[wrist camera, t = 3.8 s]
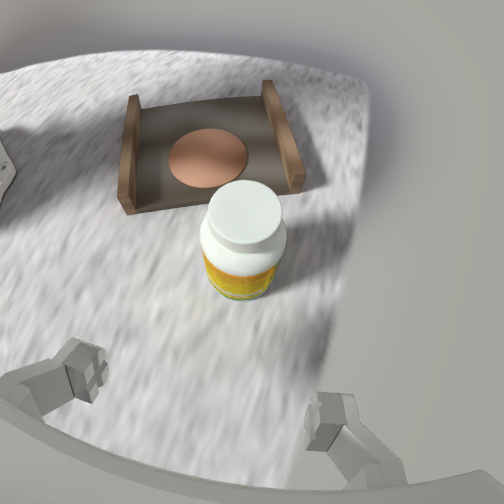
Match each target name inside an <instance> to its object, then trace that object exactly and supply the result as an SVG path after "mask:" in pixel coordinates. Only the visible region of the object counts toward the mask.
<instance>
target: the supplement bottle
mask: <svg viewBox="0 0 504 504" xmlns="http://www.w3.org/2000/svg"><path fill="white" fill-rule="evenodd" d="M282 215H283V210H282V205H281V202H280V200H279V198H278V197H277V195H276V194H275V193H274V192H273V191H272V190H271V189H270V188H269V187H267V186H266V185H264V184H261V183H259V182H256V181H250V180H239V181H234V182H230V183H228V184H226V185H224V186H222V187H221V188H220V189H218V190H217V191H216V192H215V194H214V195H213V196H212V198H211V200H210V203H209V206H208V212H207V213H206V215H205V217H204V219H203V221H202V224H201V228H200V243H201V248H202V252H203V257H204V261H205V266H206V271H207V275H208V279H209V281H210V283H211V285H212V286H213V288H214V289H215V290H216V291H217V292H218V293H219V294H220V295H222V296H223V297H225V298H227V299H229V300H233V301H239V302H243V301H250V300H253V299H255V298H257V297H259V296H260V295H262V294H263V293H264V292H265V291H266V290H267V289H268V287H269V286H270V284H271V282H272V280H273V278H274V275H275V272H276V270H277V267H278V265H279V262H280V260H281V257H282V255H283V252H284V249H285V246H286V240H287V232H286V226H285V223H284V221H283V219H282Z"/></svg>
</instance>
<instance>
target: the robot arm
mask: <svg viewBox="0 0 504 504" xmlns="http://www.w3.org/2000/svg"><path fill="white" fill-rule="evenodd" d="M15 174H16V169H15V167H14V165H13V163H12V161H11V160H10V158H9V156H8V154H7V152H6V151H5V149H4V147H3V145H2V143H1V141H0V202H1V199H2V197H3V194H4V192H5V191H6V189H7V188H8V186H9V185H10V183H11V182H12V180H13V178H14V176H15ZM106 356H107V355H106V350H105V349H104V348H102V347H99V346H96V345H93V344H90V343H88V342H85V341H82V340H79V339H76V338H74V337H73V338H70V339H69V340H68V341H67V342H66V344H65V345H64V346H63V347H62V348H61V349H60V350H59V352H58V353H57V354H56V355H55V356H54V357H53V358H52V360H51V359H46V360H43V361H40V362H37V363H34V364H31V365H28V366H25V367H22V368H20V369H17V370H14V371H11V372H8V373H5V374H4V375H3V376H2V377H1V378H0V504H504V485H503V484H502V483H501V482H499V481H498V480H497V479H496V478H494V477H493V476H492V475H490V474H488V473H487V472H485V471H483V470H477V471H472V472H469V473H465V474H461V475H456V476H453V477H448V478H443V479H439V480H433V481H428V482H422V483H416V484H410V485H408V483H407V479H406V475H405V471H404V467H403V463H402V460H400V458H398V457H397V456H396V455H395V454H394V453H393V452H392V451H391V450H390V449H389V448H388V447H387V446H386V445H385V444H383V443H382V442H381V441H380V440H379V439H378V438H377V437H376V436H375V435H374V434H373V433H372V432H371V431H370V430H369V429H368V428H366V426H364V425H361V423H360V419H359V414H358V410H357V406H356V402H355V398H354V395H353V394H339V393H326V392H315V393H314V394H313V396H312V398H311V399H312V404H310V405H309V406H308V407H307V410H306V413H305V418H304V428H305V429H306V430H307V434H306V436H305V448H306V450H308V451H321V452H327V454H328V456H329V457H330V458H331V460H332V461H333V462H334V464H335V465H336V467H337V468H338V469H339V471H340V472H341V473H342V475H343V476H344V478H345V479H346V480H347V482H348V485H347V486H346V487H345V488H344V489H343V490H332V491H331V490H330V491H321V490H290V489H276V488H265V487H256V486H247V485H240V484H233V483H227V482H221V481H215V480H209V479H204V478H199V477H195V476H190V475H186V474H181V473H177V472H173V471H169V470H166V469H162V468H158V467H155V466H151V465H148V464H144V463H141V462H138V461H135V460H132V459H129V458H126V457H123V456H120V455H117V454H114V453H112V452H109V451H106V450H104V449H101V448H99V447H96V446H93V445H91V444H89V443H86V442H84V441H81V440H79V439H77V438H75V437H72V436H70V435H68V434H66V433H64V432H62V431H59V430H57V429H55V428H53V427H51V426H49V425H47V424H45V422H44V420H43V418H42V416H44V415H46V414H47V413H49V412H51V411H53V410H55V409H56V408H58V407H60V406H62V405H63V404H65V403H67V402H69V401H71V400H72V399H74V397H75V398H78V399H80V400H83V401H86V402H88V403H91V404H92V403H93V402H94V400H95V398H96V397H97V395H98V394H99V391H98V388H99V387H101V386H103V385H104V384H105V382H106V380H107V377H108V371H109V368H108V364H107V362H106V361H105V360H104V359H105V358H106Z"/></svg>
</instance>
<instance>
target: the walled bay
mask: <svg viewBox="0 0 504 504" xmlns="http://www.w3.org/2000/svg"><path fill="white" fill-rule="evenodd" d="M305 175H306V173H305V170H304V167H303V164H302V161H301V158H300V155H299V152H298V149H297V146H296V143H295V141H294V138H293V135H292V132H291V129H290V127H289V124H288V121H287V119H286V116H285V113H284V111H283V108H282V105H281V103H280V100H279V97H278V95H277V92H276V90H275V87H274V85H273V82H272V80H263V84H262V93H261V96H251V97H235V98H223V99H212V100H203V101H194V102H186V103H179V104H172V105H166V106H159V107H153V108H147V109H141V105H140V101H139V97H138V94H136V95H131V96H129V100H128V106H127V112H126V119H125V126H124V133H123V141H122V149H121V158H120V168H119V179H118V192H117V198H118V200H119V202H120V204H121V205H122V207H123V209H124V211H125V213H126V215H131V214H138V213H144V212H150V211H157V210H164V209H170V208H177V207H185V206H192V205H199V204H207V203H210V200H211V198H212V196H213V195H214V194H215V192H216V191H217V190H218V189H220V188H221V187H222V186H224V185H226V184H228V183H230V182H234V181H239V180H250V181H256V182H259V183H261V184H264V185H266V186H267V187H269V188H270V189H271V190H272V191H273V192H274V193H275V194H276V195H286V194H297V193H300V190H301V187H302V184H303V181H304V178H305Z"/></svg>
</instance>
